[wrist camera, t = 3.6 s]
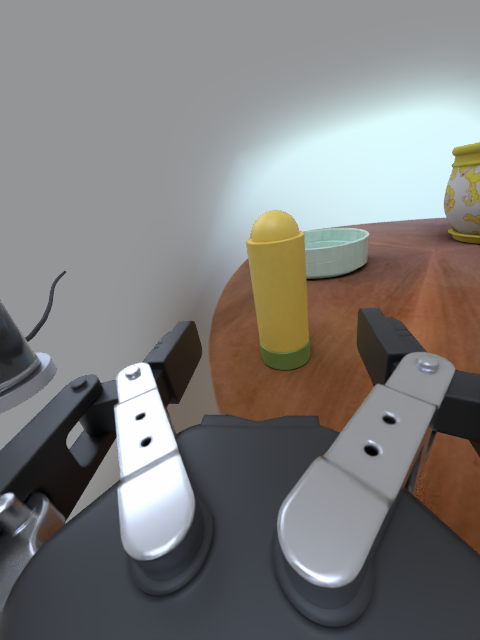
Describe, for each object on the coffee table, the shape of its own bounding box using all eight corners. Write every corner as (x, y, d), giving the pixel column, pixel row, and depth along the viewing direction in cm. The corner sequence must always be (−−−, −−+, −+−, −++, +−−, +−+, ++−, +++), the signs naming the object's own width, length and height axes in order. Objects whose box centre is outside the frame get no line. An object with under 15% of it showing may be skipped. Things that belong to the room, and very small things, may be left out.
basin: (258, 271, 53) (255, 245, 51) (314, 251, 61) (314, 227, 58) (325, 288, 40) (325, 253, 37) (386, 259, 47) (389, 228, 45)
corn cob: (252, 355, 27) (229, 217, 21) (286, 336, 29) (275, 206, 23) (284, 377, 23) (268, 216, 17) (321, 354, 25) (318, 203, 19)
